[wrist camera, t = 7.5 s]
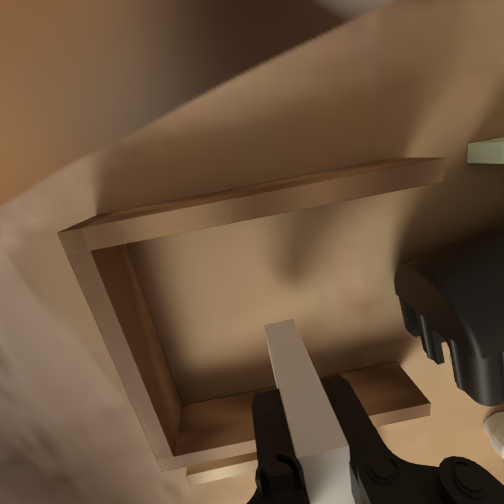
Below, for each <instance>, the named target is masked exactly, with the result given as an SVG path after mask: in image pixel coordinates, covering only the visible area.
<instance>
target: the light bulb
mask: <svg viewBox="0 0 504 504" xmlns="http://www.w3.org/2000/svg"><path fill="white" fill-rule="evenodd" d="M483 429H484V431H485V432H486V433H487V434H488V435H489V436H490V437H491V445H492V447H493V448H494V450H495V451H496V452H497V453H498V454H499V455H500V456H501V457H502V458H503V459H504V412H498V413H495V414H493V415H491V416H489V417H488V418H487V419H486V420H485V422H484V424H483Z"/></svg>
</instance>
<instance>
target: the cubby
mask: <svg viewBox="0 0 504 504" xmlns="http://www.w3.org/2000/svg"><path fill="white" fill-rule="evenodd" d="M444 163H445V158H393V159H387V160H382V161H377V162H372V163H367V164H361V165H356V166H351V167H346V168H341V169H336V170H330V171H325V172H320V173H315V174H310V175H304V176H299V177H294V178H289V179H284V180H278V181H273V182H268V183H263V184H258V185H253V186H247V187H242V188H237V189H232V190H227V191H221V192H216V193H211V194H206V195H201V196H195V197H190V198H185V199H180V200H175V201H170V202H164V203H159V204H154V205H149V206H144V207H138V208H133V209H128V210H123V211H118V212H113V213H107V214H102V215H97V216H94V217H92V218H89V219H87V220H85V221H83V222H80V223H78V224H76V225H74V226H71V227H69V228H67V229H65V230H62V231H60V232H58V233H57V234H58V237H59V239H60V241H61V243H62V246H63V248H64V250H65V253H66V255H67V257H68V259H69V262H70V264H71V266H72V269H73V271H74V273H75V275H76V278H77V280H78V282H79V285H80V287H81V289H82V291H83V294H84V296H85V298H86V300H87V303H88V305H89V307H90V310H91V312H92V314H93V316H94V319H95V321H96V323H97V326H98V328H99V330H100V332H101V335H102V337H103V339H104V342H105V344H106V346H107V348H108V351H109V353H110V355H111V358H112V360H113V362H114V364H115V367H116V369H117V371H118V374H119V376H120V378H121V380H122V383H123V385H124V387H125V390H126V392H127V394H128V396H129V399H130V401H131V403H132V406H133V408H134V410H135V412H136V415H137V417H138V419H139V422H140V424H141V426H142V428H143V431H144V433H145V435H146V438H147V440H148V442H149V444H150V447H151V449H152V451H153V454H154V456H155V458H156V460H157V463H158V465H159V467H160V470H161V472H162V471H167V470H172V469H177V468H181V467H186V466H191V465H196V464H201V463H205V462H210V461H215V460H220V459H224V458H229V457H234V456H239V455H243V454H248V453H253V452H257V451H256V442H255V433H254V425H253V416H252V407H251V405H252V402H253V399H254V395H255V394H256V393H260V392H265V391H269V390H274V389H277V386H276V387H271V388H267V389H262V390H257V391H252V392H247V393H242V394H237V395H233V396H228V397H223V398H218V399H213V400H208V401H203V402H199V403H194V404H189V405H184V406H183V405H182V402H181V399H180V396H179V394H178V391H177V388H176V385H175V382H174V379H173V377H172V374H171V371H170V368H169V365H168V362H167V360H166V357H165V354H164V351H163V348H162V346H161V343H160V340H159V337H158V334H157V331H156V329H155V326H154V323H153V320H152V317H151V315H150V312H149V309H148V306H147V303H146V300H145V298H144V295H143V292H142V289H141V286H140V283H139V281H138V278H137V275H136V272H135V269H134V267H133V264H132V261H131V258H130V255H129V252H128V250H127V247H126V244H127V243H132V242H137V241H142V240H147V239H153V238H158V237H163V236H168V235H173V234H178V233H183V232H189V231H194V230H199V229H204V228H209V227H214V226H219V225H224V224H230V223H235V222H240V221H245V220H250V219H255V218H260V217H265V216H271V215H276V214H281V213H286V212H291V211H296V210H301V209H306V208H312V207H317V206H322V205H327V204H332V203H337V202H342V201H348V200H353V199H358V198H363V197H368V196H373V195H378V194H383V193H389V192H394V191H399V190H404V189H409V188H414V187H419V186H424V185H430V184H435V183H440V182H443V180H444ZM335 375H338V374H335ZM339 375H341V376H342V377H343V378H344V379H346V380H347V381H348V382H349V383H350V385H351V386H352V388H353V390H354V392H355V393H356V396H357V397H358V399H359V400H360V402H361V404H362V406H363V407H364V409H365V411H366V413H367V414H368V416H369V418H370V420H371V421H372V423H373V425H374V427H377V426H382V425H387V424H391V423H396V422H401V421H406V420H410V419H415V418H420V417H425V416H429V415H430V407H431V403H430V402H429V400H428V399H427V398H426V397H425V396H424V394H423V393H422V392H421V391H420V389H419V388H418V387H417V386H416V385H415V383H414V382H413V381H412V380H411V379H410V377H409V376H408V375H407V374H406V372H405V371H404V370H403V369H402V368H401V366H400V365H399V364H398V363H397V362H393V363H388V364H383V365H378V366H373V367H369V368H364V369H359V370H354V371H349V372H344V373H339ZM330 376H333V375H330ZM325 377H329V376H325ZM320 378H324V377H320ZM320 378H319V379H320Z"/></svg>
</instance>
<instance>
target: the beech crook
mask: <svg viewBox="0 0 504 504" xmlns="http://www.w3.org/2000/svg"><path fill="white" fill-rule="evenodd" d="M257 467H258V459H257V452H253V453H248V454H243V455H239V456H234V457H229V458H224V459H220V460H215V461H210V462H205V463H201V464H196V465H191V466H187V473H186V477H187V479H188V481H189V483H190V486H193V485H198V484H202V483H207V482H211V481H215V480H220V479H224V478H229V477H233V476H238V475H242V474H246V473H251V472H255V471H256V469H257Z"/></svg>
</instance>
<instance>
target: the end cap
mask: <svg viewBox="0 0 504 504" xmlns="http://www.w3.org/2000/svg"><path fill="white" fill-rule="evenodd" d="M394 286H395V292H396V295H398V296H399V301H400V305H401V309H402V314H403V318H404V322H405V327H406V329H407V330H408V331H409V332H410V333H411V334H412V335H413V336H415V337H417V336H421V341H422V345H423V350H424V351H425V352H426V353H427V357H428V358H429V359H432V360H434V361H435V362H436V363H437V364H438V365H439V364H442V363H444V356H443V351H442V345H441V343H443V342H447V344H448V346H449V349H450V354H451V360H452V366H453V372H454V378H455V382H456V383H457V387H458V388H459V389H461V390H463V391H465V392H466V393H467V394H468V395H469V396H470V397H471V398H472V399H473V400H474V401H476V402H477V403H479V404H481V405H485V406H497V405H500V404H502V403H504V225H502V226H500V227H497V228H494V229H492V230H489V231H487V232H484V233H481V234H479V235H476V236H474V237H471V238H468V239H466V240H463V241H461V242H458V243H455V244H453V245H450V246H448V247H445V248H442V249H440V250H437V251H435V252H432V253H429V254H427V255H424V256H422V257H419V258H416V259H414V260H411V261H409V262H406V263H404V264H402V265H401V266H399V267H398V269H397V271H396V273H395V278H394Z"/></svg>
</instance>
